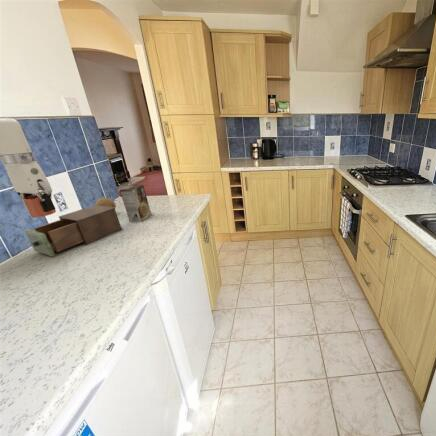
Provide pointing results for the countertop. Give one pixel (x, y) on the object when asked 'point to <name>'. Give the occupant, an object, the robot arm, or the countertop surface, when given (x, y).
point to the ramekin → (35, 206)
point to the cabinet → (95, 222)
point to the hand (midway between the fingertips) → (41, 209)
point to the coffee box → (135, 202)
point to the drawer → (54, 236)
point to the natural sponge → (106, 202)
